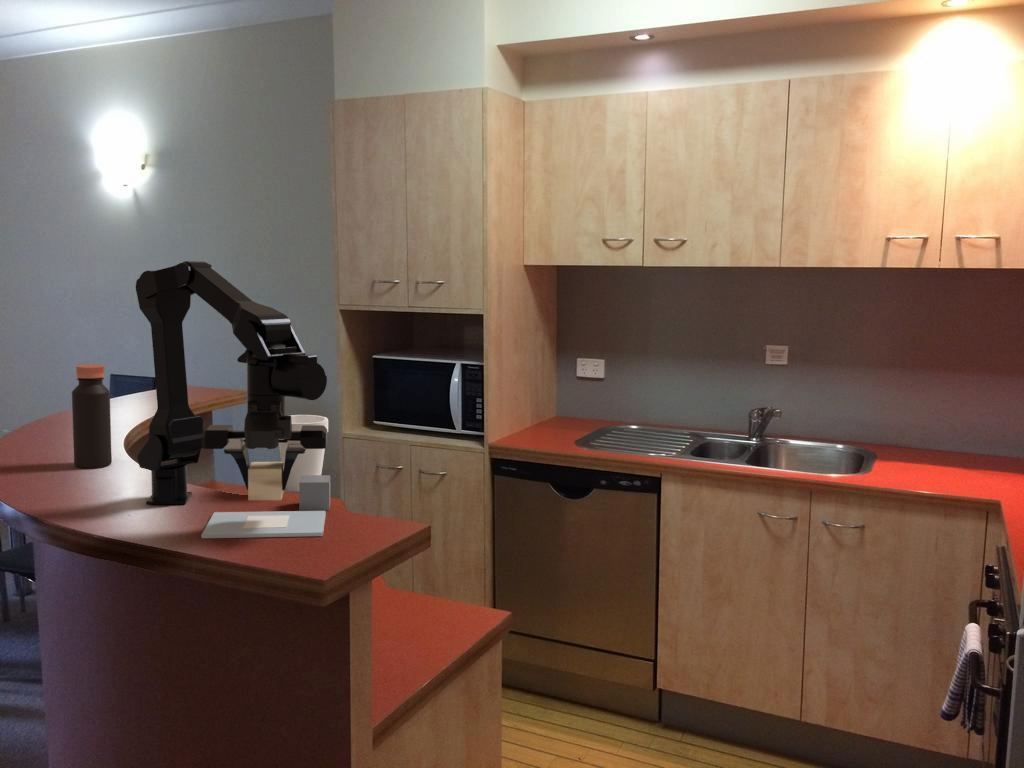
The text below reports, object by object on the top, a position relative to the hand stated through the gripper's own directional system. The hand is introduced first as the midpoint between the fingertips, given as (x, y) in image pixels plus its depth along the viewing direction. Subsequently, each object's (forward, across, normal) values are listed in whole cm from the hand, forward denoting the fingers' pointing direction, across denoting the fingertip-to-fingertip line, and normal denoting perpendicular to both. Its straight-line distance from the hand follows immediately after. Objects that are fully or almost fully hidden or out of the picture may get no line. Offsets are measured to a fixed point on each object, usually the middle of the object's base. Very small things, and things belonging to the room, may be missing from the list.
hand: (266, 489), depth 141 cm
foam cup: (+6, +4, +24) cm, 25 cm away
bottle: (+6, -38, +43) cm, 58 cm away
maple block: (+1, 0, 0) cm, 1 cm away
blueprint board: (+6, 0, 0) cm, 6 cm away
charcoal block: (+6, +7, +11) cm, 14 cm away
